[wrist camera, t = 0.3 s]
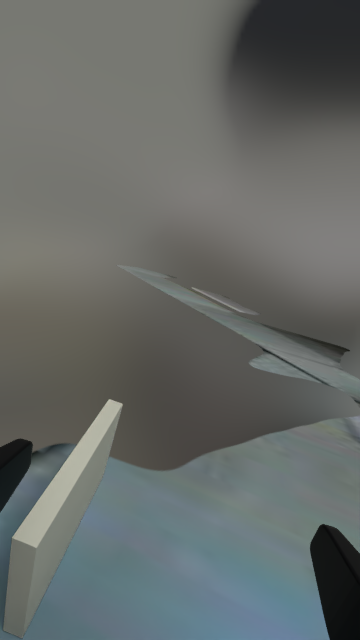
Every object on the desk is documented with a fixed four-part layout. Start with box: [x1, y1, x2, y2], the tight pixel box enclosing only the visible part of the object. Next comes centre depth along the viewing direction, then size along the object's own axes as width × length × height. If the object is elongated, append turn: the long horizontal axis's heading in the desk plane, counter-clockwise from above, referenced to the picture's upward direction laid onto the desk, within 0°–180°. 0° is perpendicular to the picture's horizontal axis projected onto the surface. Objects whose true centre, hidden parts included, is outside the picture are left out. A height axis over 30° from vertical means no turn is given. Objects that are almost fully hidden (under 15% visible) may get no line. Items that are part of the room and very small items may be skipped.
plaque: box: [3, 399, 123, 638], centre depth 17 cm, size 10×2×9 cm, turn 170°
